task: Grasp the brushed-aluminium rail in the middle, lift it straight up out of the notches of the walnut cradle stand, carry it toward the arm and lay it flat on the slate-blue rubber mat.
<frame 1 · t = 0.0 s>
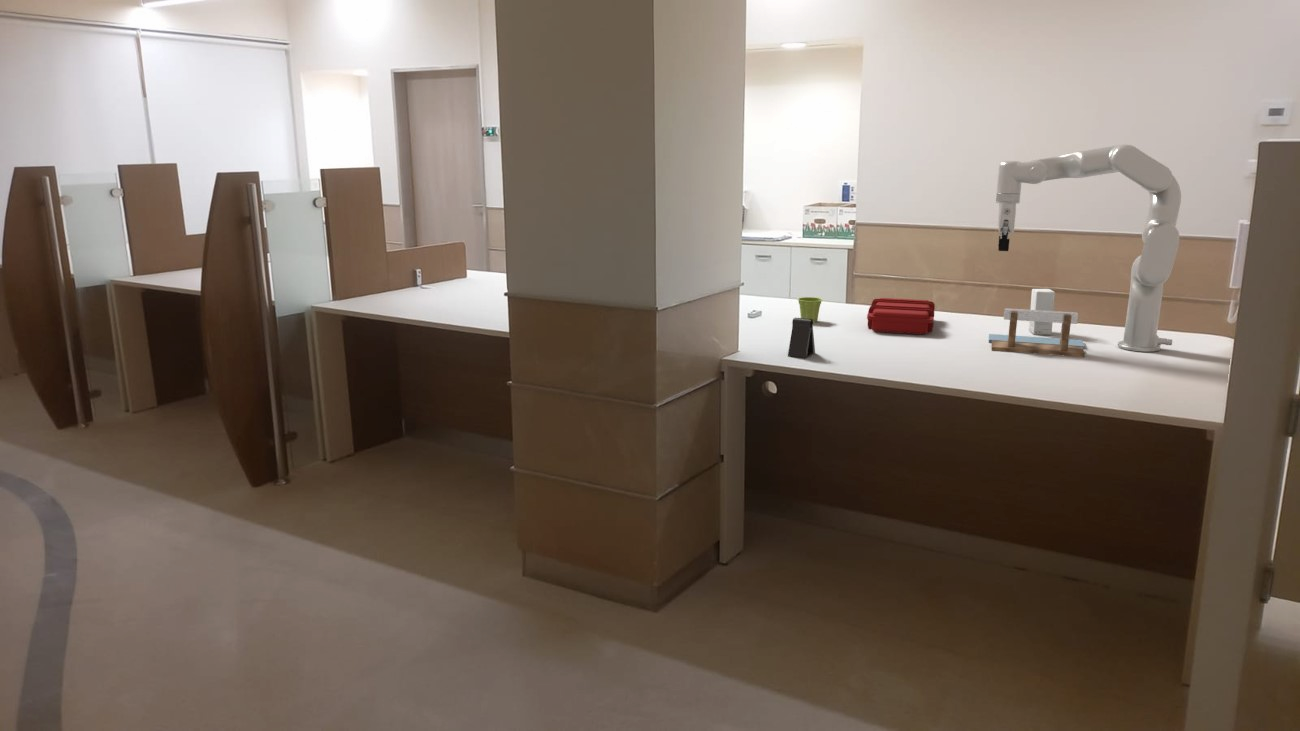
hand: (1003, 249, 308), 31 cm above the table, fingers open, 9 cm apart
aluminium rail: (1039, 320, 295), point 10 cm above the table, touching cradle stand
phone stand: (801, 355, 293), on the table
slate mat: (1035, 342, 308), on the table
skincare box: (1039, 333, 324), on the table
first aid kit: (900, 327, 337), on the table
plant pot: (809, 321, 345), on the table
cradle stand: (1036, 350, 297), on the table
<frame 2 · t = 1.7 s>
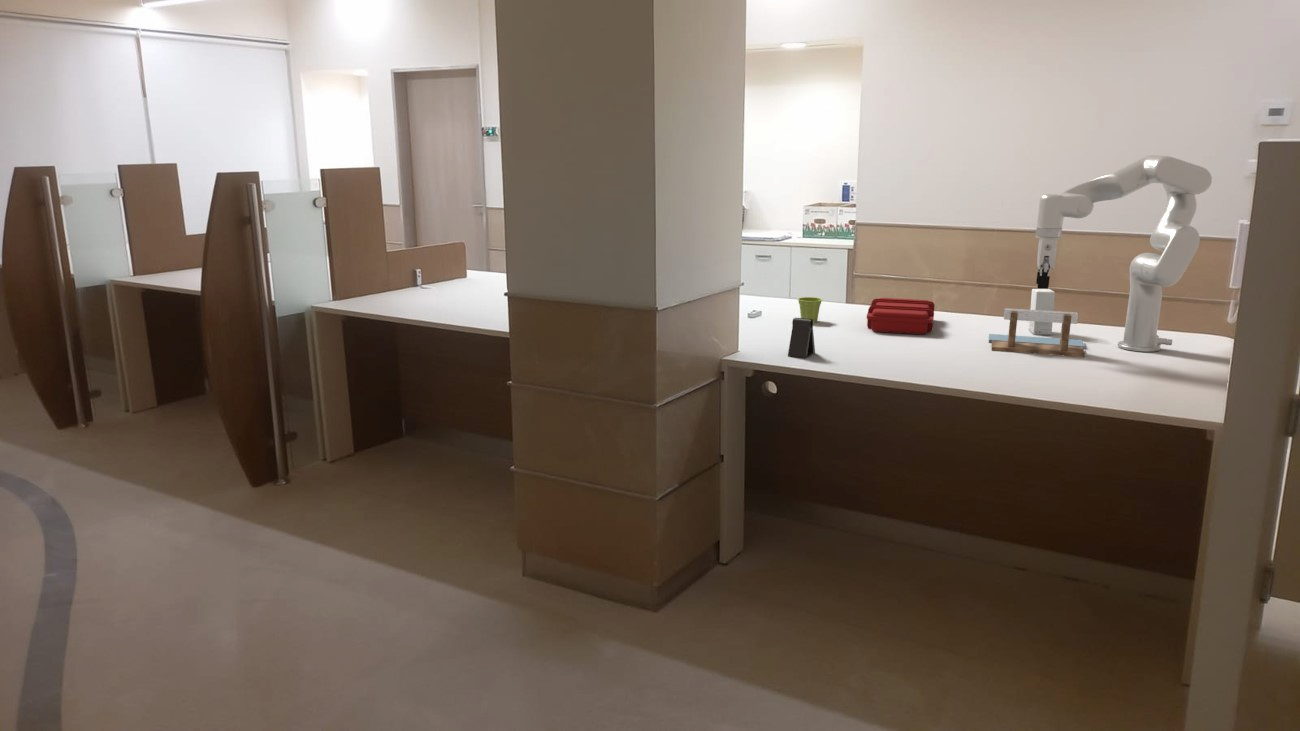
hand: (1042, 286, 292), 21 cm above the table, fingers open, 9 cm apart
nothing on the table moved.
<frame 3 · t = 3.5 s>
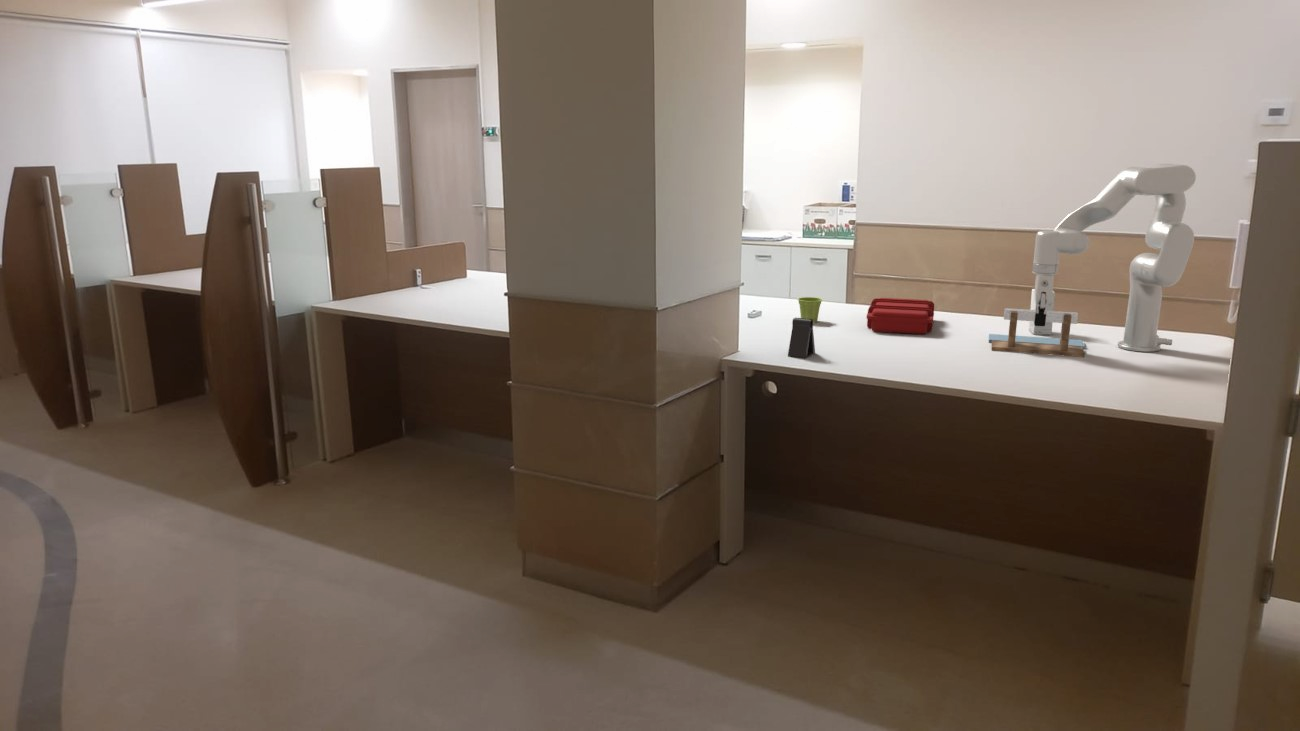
hand: (1039, 324, 295), 9 cm above the table, fingers closed on aluminium rail, 3 cm apart
aluminium rail: (1039, 320, 295), point 10 cm above the table, touching cradle stand, gripper
everything else where it was.
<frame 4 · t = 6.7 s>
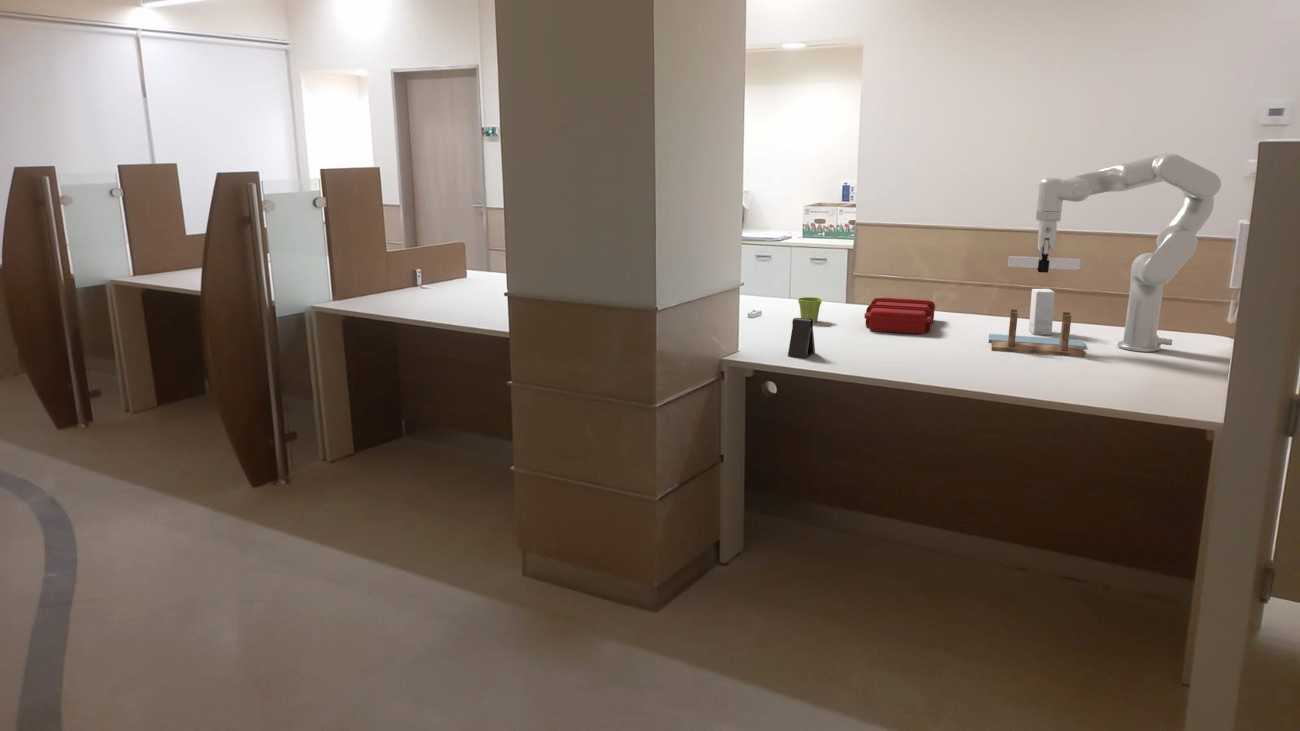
hand: (1042, 270, 302), 25 cm above the table, fingers closed on aluminium rail, 3 cm apart
aluminium rail: (1042, 267, 302), point 26 cm above the table, touching gripper
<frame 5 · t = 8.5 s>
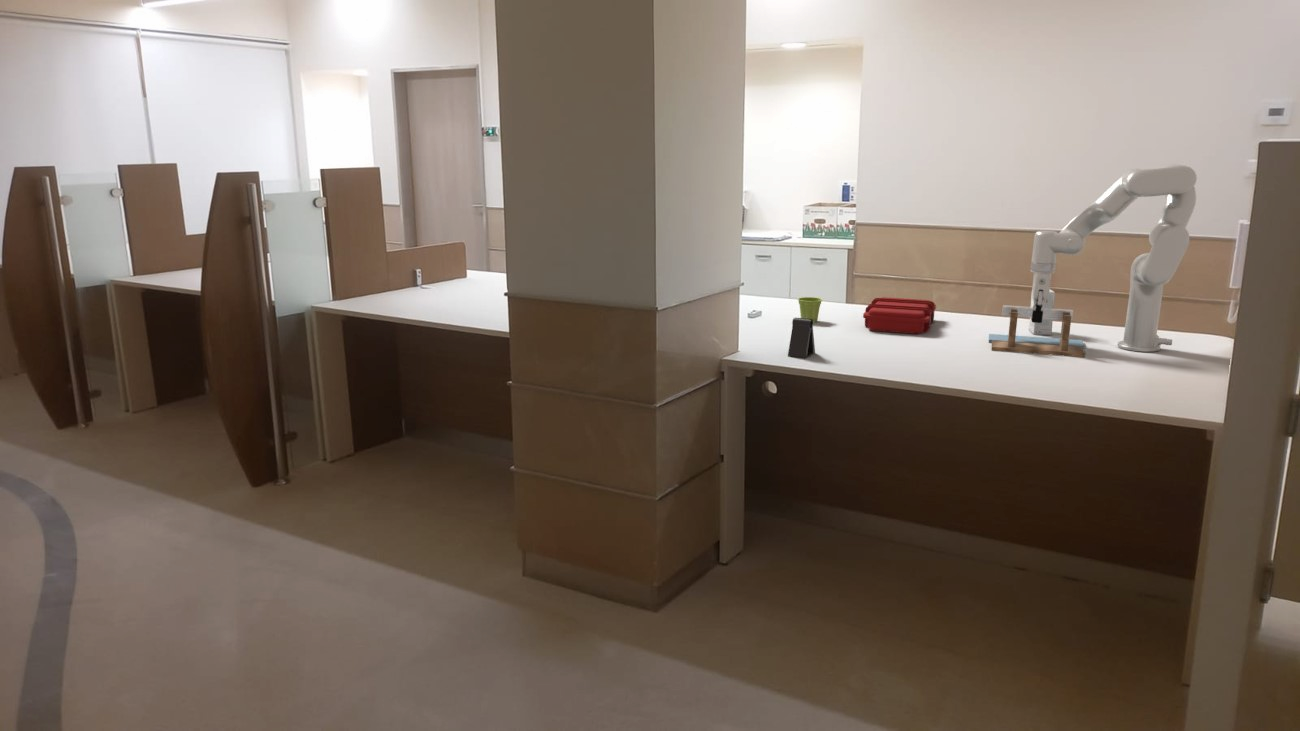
hand: (1036, 320, 306), 8 cm above the table, fingers closed on aluminium rail, 3 cm apart
aluminium rail: (1036, 317, 306), point 9 cm above the table, touching gripper
when the fingers open (2 cm above the table, at t = 9.9 s): aluminium rail drops 2 cm, resting on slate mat.
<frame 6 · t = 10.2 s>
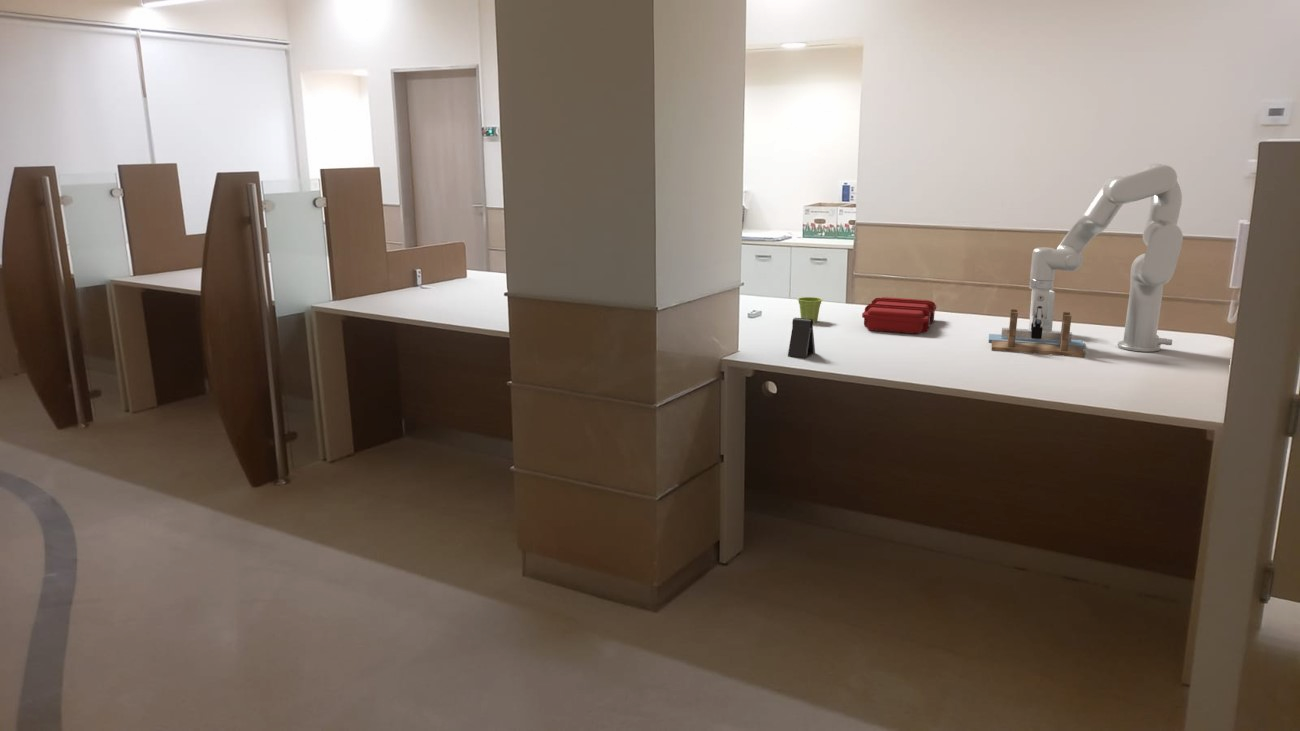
hand: (1035, 336, 308), 2 cm above the table, fingers open, 5 cm apart
aluminium rail: (1035, 339, 308), point 1 cm above the table, touching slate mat
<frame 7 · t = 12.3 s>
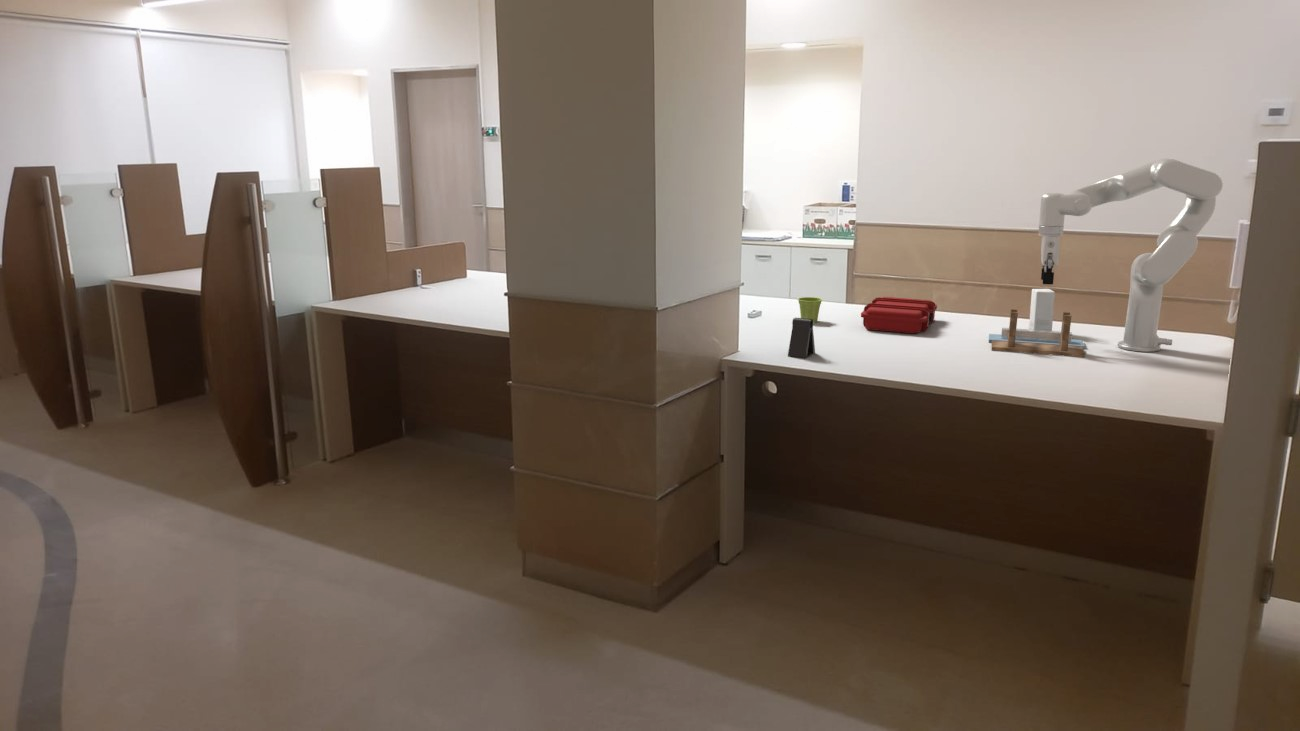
hand: (1046, 282, 303), 21 cm above the table, fingers open, 9 cm apart
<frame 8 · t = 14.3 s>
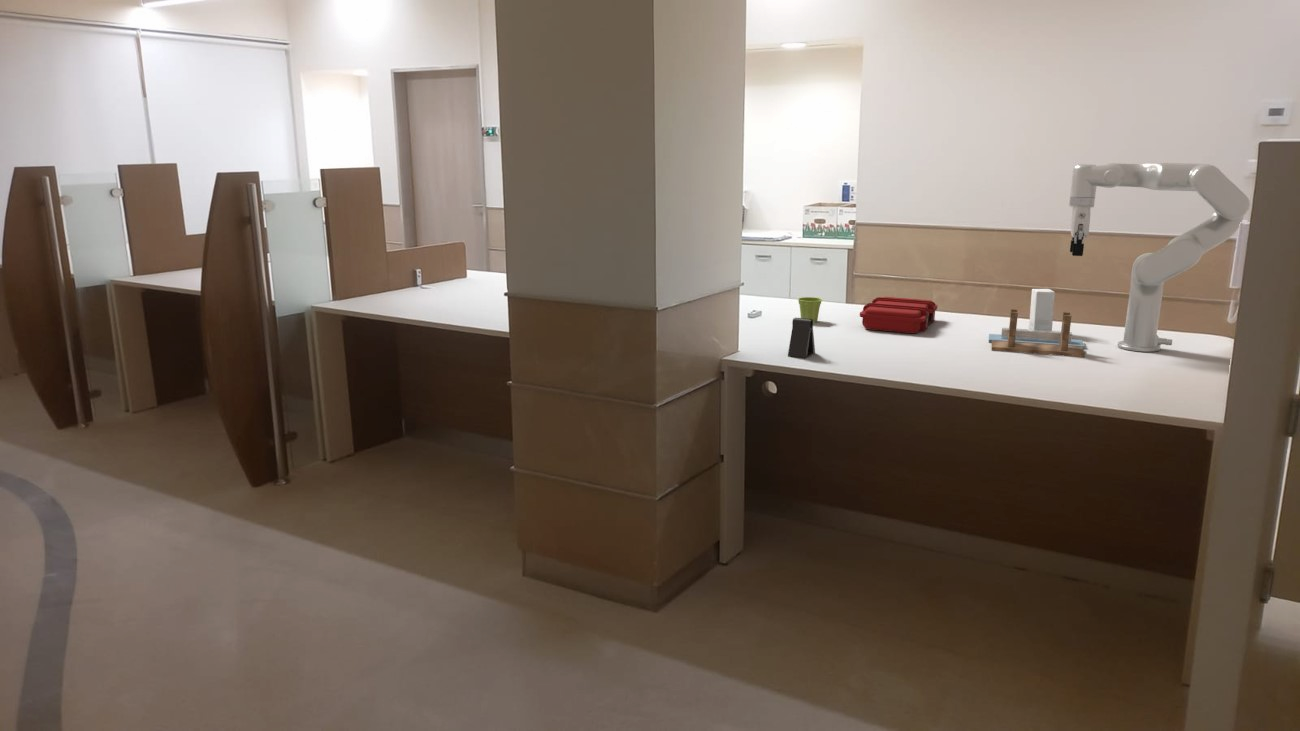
hand: (1076, 254, 302), 30 cm above the table, fingers open, 9 cm apart
at the end: aluminium rail inside the target area (0.0 cm from its centre), point 1.0 cm above the table; aluminium rail touching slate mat; aluminium rail tilted 0° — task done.
